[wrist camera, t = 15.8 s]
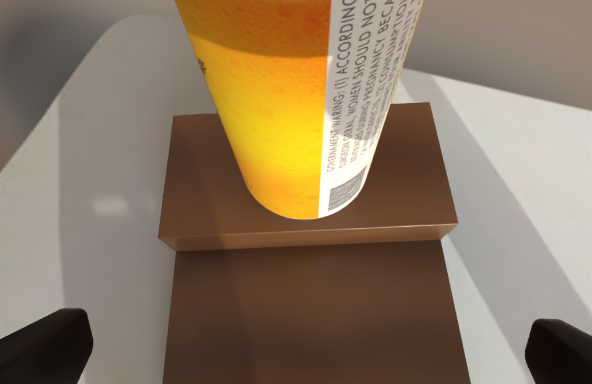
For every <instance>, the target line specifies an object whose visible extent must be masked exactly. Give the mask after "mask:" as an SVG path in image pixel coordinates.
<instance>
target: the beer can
mask: <svg viewBox="0 0 592 384" xmlns="http://www.w3.org/2000/svg"><path fill="white" fill-rule="evenodd" d="M175 2H176V5H177V8H178V10H179V13H180V15H181V18H182V21H183V23H184V26H185V28H186V31H187V34H188V36H189V39H190V41H191V44H192V46H193V49H194V52H195V54H196V57H197V59H198V62H199V65H200V67H201V70H202V72H203V75H204V78H205V80H206V83H207V85H208V88H209V90H210V93H211V96H212V98H213V101H214V103H215V106H216V109H217V111H218V114H219V116H220V119H221V122H222V124H223V127H224V129H225V132H226V134H227V137H228V140H229V142H230V145H231V147H232V150H233V153H234V155H235V158H236V160H237V163H238V166H239V168H240V171H241V173H242V176H243V178H244V181H245V183H246V186H247V188H248V189H249V191H250V193H251V194H252V195H253V197H254V198H255V199H256V200H257V201H258V202H259V203H260V204H261V205H263V206H264V207H265V208H267V209H268V210H270V211H272V212H274V213H276V214H278V215H281V216H284V217H288V218H293V219H316V218H321V217H325V216H328V215H331V214H333V213H335V212H337V211H339V210H341V209H342V208H344V207H345V206H347V205H348V204H349V203H350V202H351V201H352V200H353V199H354V198H355V197H356V196H357V195H358V193H359V192H360V190H361V189H362V187H363V185H364V183H365V180H366V178H367V174H368V171H369V168H370V165H371V162H372V159H373V156H374V153H375V150H376V147H377V144H378V141H379V138H380V134H381V131H382V128H383V125H384V122H385V119H386V116H387V113H388V110H389V107H390V104H391V101H392V97H393V94H394V91H395V88H396V85H397V82H398V79H399V76H400V73H401V70H402V67H403V64H404V60H405V57H406V54H407V51H408V48H409V45H410V42H411V39H412V36H413V33H414V29H415V26H416V24H417V20H418V17H419V14H420V11H421V8H422V5H423V2H424V0H175Z"/></svg>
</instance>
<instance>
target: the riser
mask: <svg viewBox="0 0 592 384" xmlns="http://www.w3.org/2000/svg"><path fill="white" fill-rule="evenodd" d="M457 225H458V220H457V216H456V212H455V207H454V203H453V199H452V195H451V191H450V186H449V182H448V178H447V174H446V170H445V165H444V161H443V157H442V153H441V149H440V144H439V140H438V136H437V132H436V128H435V123H434V119H433V115H432V111H431V107H430V103H429V102H424V103H406V104H390V107H389V110H388V113H387V116H386V119H385V122H384V125H383V128H382V131H381V134H380V138H379V141H378V144H377V147H376V150H375V153H374V156H373V159H372V162H371V165H370V168H369V171H368V174H367V178H366V180H365V183H364V185H363V187H362V189H361V190H360V192H359V193H358V195H357V196H356V197H355V198H354V199H353V200H352V201H351V202H350V203H349V204H348V205H347V206H345V207H344V208H342V209H341V210H339V211H337V212H335V213H333V214H331V215H328V216H325V217H321V218H316V219H293V218H288V217H284V216H281V215H278V214H276V213H274V212H272V211H270V210H268V209H267V208H265V207H264V206H263V205H261V204H260V203H259V202H258V201H257V200H256V199H255V198H254V197H253V195H252V194H251V193H250V191H249V189H248V188H247V186H246V183H245V181H244V178H243V176H242V173H241V171H240V168H239V166H238V163H237V160H236V158H235V155H234V153H233V150H232V147H231V145H230V142H229V140H228V137H227V134H226V132H225V129H224V127H223V124H222V122H221V119H220V116H219V114H218V113H217V114H198V115H179V116H174V117H173V125H172V133H171V140H170V148H169V156H168V164H167V172H166V179H165V187H164V195H163V203H162V211H161V219H160V226H159V234H158V238H159V239H160V240H161V241H163V242H164V243H165V244H167V245H168V246H169V247H171V248H172V249H173V250H175V251H176V260H175V269H174V279H173V288H172V298H171V308H170V317H169V327H168V336H167V346H166V356H165V365H164V375H163V384H471V382H470V377H469V372H468V368H467V363H466V358H465V354H464V349H463V344H462V339H461V335H460V330H459V325H458V320H457V316H456V311H455V306H454V302H453V297H452V292H451V287H450V283H449V278H448V273H447V269H446V264H445V259H444V254H443V250H442V245H441V240H440V239H442V238H443V237H444V236H445V235H446V234H447V233H449V232H450V231H451V230H452V229H453V228H454V227H456V226H457Z"/></svg>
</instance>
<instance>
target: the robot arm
mask: <svg viewBox="0 0 592 384" xmlns="http://www.w3.org/2000/svg"><path fill="white" fill-rule="evenodd" d="M92 349H93V337H92V333H91V328H90V324H89V320H88V316H87V313H86V312H85V310H83V309H80V308H63V309H60V310H58V311H56V312H54V313H52V314H50V315H48V316H46V317H44V318H42V319H40V320H38V321H36V322H34V323H32V324H30V325H28V326H26V327H24V328H22V329H20V330H18V331H16V332H14V333H12V334H10V335H8V336H6V337H4V338H2V339H0V384H77V382H78V380H79V378H80V376H81V374H82V372H83V370H84V368H85V366H86V363H87V361H88V359H89V357H90V355H91V353H92ZM525 360H526V363H527V366H528V368H529V370H530V372H531V374H532V376H533V379H534V381H535V383H536V384H592V336H591V335H589V334H587V333H585V332H583V331H581V330H579V329H577V328H575V327H573V326H571V325H569V324H568V323H566V322H564V321H562V320H558V319H537V320H535V321H534V323H533V325H532V328H531V331H530V335H529V338H528V342H527V345H526V349H525Z"/></svg>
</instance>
